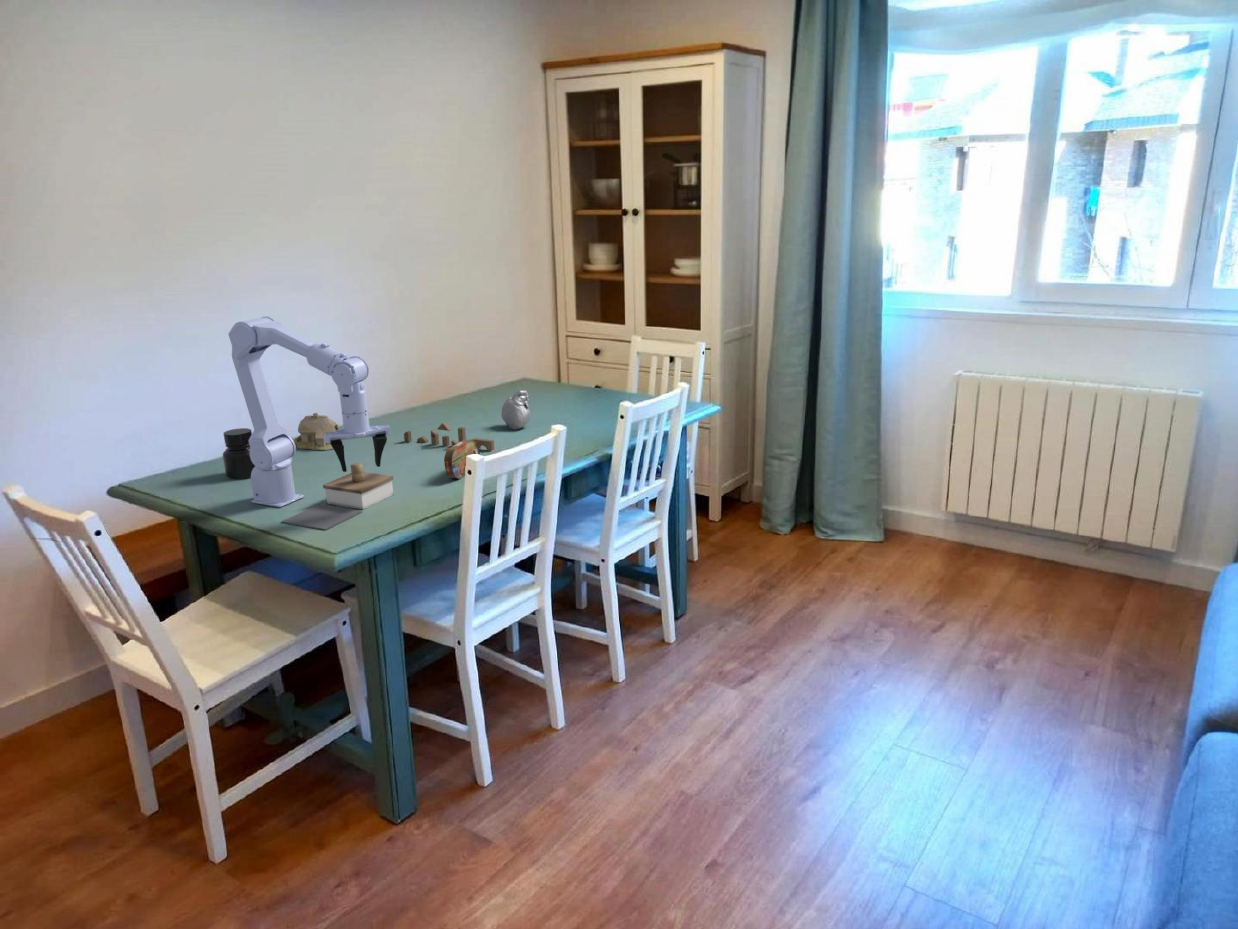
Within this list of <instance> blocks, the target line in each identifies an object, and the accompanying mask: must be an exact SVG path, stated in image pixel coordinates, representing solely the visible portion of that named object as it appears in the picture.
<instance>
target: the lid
mask: <svg viewBox="0 0 1238 929" xmlns="http://www.w3.org/2000/svg"><path fill="white" fill-rule="evenodd" d="M350 472H351V473H348V474H346V475H343V476H341V477H339V478H336V479H334V480H331V481H329V482H328V483H327V482H326V483H324V484H322V489H331V490H338V491H344V492H351V493H357V494H363V493H365V492H367V491H369V490H372V489H374V488H376V487H378V486H380V485H382V484H384V483H387V482H389V481H391V480H392V481H393V480H394V476H393V475H388V474H379V473H373V472H366V471H364V465H363V463H362V462H357V463H356V462H355V463H352V464H351V465H350Z"/></svg>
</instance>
